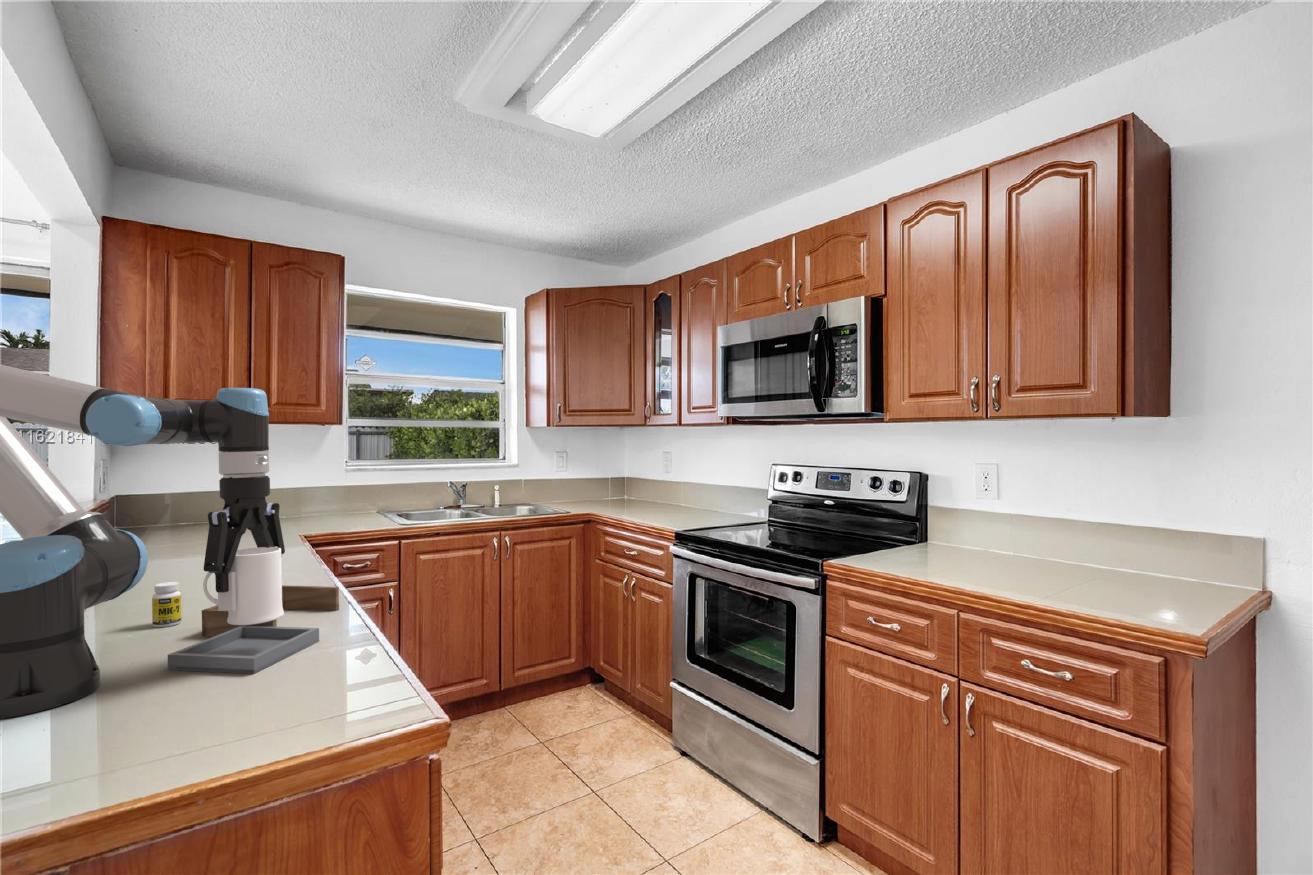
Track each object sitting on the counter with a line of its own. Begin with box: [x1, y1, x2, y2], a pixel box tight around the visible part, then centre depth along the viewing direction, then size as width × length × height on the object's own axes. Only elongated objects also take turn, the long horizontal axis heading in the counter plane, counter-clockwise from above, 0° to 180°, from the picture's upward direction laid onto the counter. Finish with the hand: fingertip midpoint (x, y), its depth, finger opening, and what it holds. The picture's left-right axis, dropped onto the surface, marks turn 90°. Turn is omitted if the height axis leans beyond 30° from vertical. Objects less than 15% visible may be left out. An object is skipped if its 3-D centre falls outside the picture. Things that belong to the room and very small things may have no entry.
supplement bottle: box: [151, 581, 182, 628], centre depth 131 cm, size 5×5×8 cm
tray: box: [167, 625, 320, 675], centre depth 113 cm, size 16×16×2 cm
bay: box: [201, 584, 340, 637], centre depth 132 cm, size 20×15×5 cm
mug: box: [202, 546, 285, 625], centre depth 112 cm, size 12×8×12 cm
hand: (248, 602), depth 113 cm, fingers closed on mug, 8 cm apart
